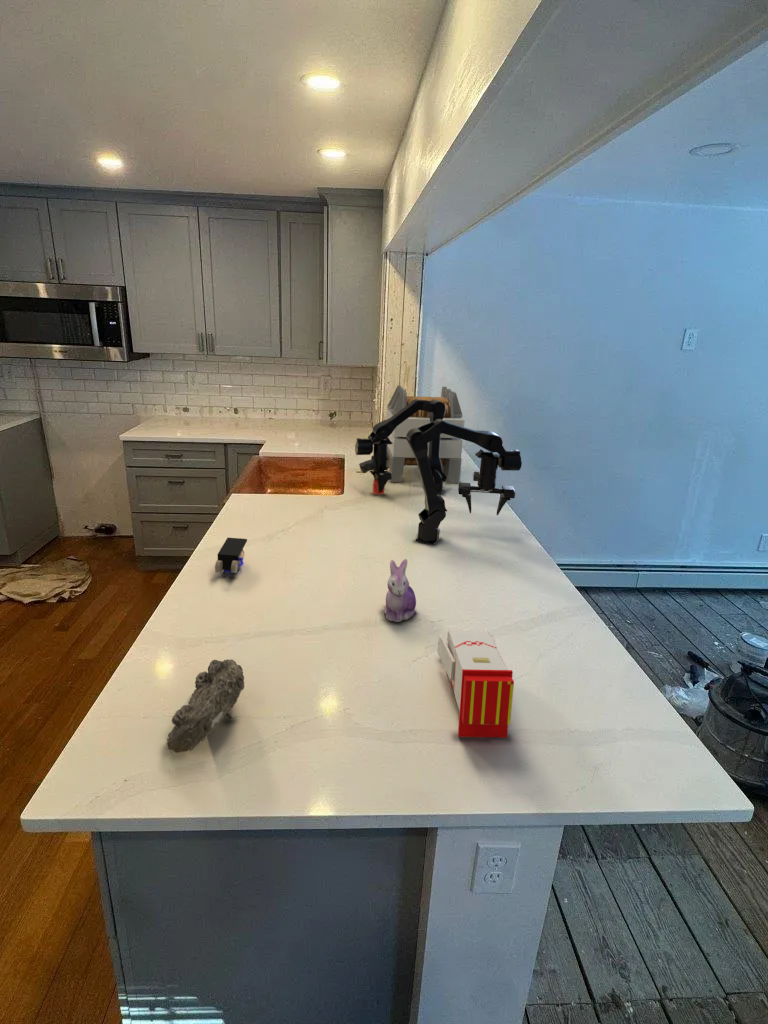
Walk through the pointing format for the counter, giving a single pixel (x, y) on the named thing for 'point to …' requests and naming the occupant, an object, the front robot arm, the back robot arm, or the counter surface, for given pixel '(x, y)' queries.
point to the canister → (376, 488)
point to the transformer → (449, 445)
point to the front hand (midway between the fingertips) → (483, 513)
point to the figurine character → (230, 556)
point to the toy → (478, 682)
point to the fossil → (206, 705)
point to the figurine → (399, 594)
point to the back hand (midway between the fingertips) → (378, 490)
